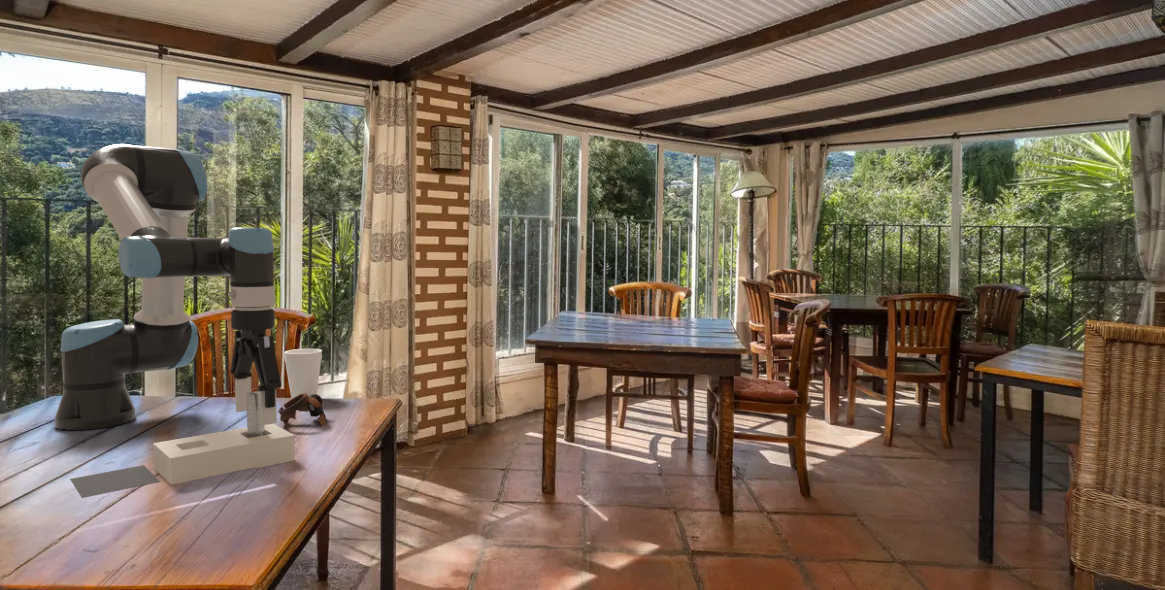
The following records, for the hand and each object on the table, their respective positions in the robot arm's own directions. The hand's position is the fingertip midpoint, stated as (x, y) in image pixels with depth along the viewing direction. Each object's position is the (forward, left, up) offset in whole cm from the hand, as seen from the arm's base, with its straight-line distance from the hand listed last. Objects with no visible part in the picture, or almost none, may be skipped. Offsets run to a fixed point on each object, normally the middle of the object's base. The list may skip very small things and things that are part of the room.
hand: (255, 417), depth 130 cm
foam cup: (-45, +28, -8) cm, 53 cm away
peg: (0, 0, -8) cm, 8 cm away
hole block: (0, -6, -8) cm, 10 cm away
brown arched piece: (-20, +18, -9) cm, 28 cm away
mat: (-3, -22, -8) cm, 24 cm away
